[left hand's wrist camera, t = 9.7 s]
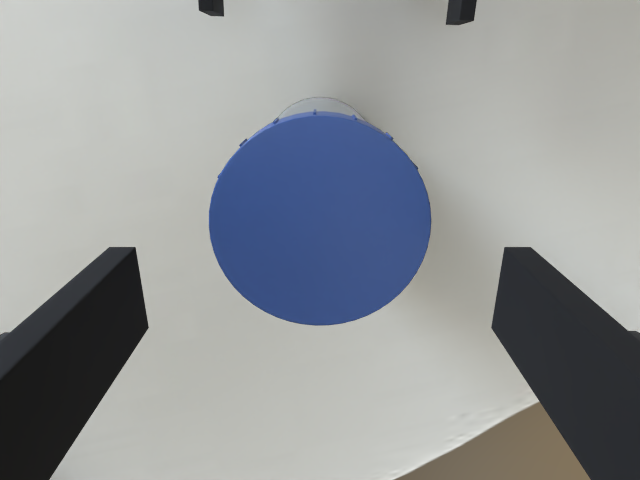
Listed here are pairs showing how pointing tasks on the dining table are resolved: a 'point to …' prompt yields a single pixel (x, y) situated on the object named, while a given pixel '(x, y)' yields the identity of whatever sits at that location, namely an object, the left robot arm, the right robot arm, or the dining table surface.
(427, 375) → the dining table surface
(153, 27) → the dining table surface
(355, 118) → the lid
